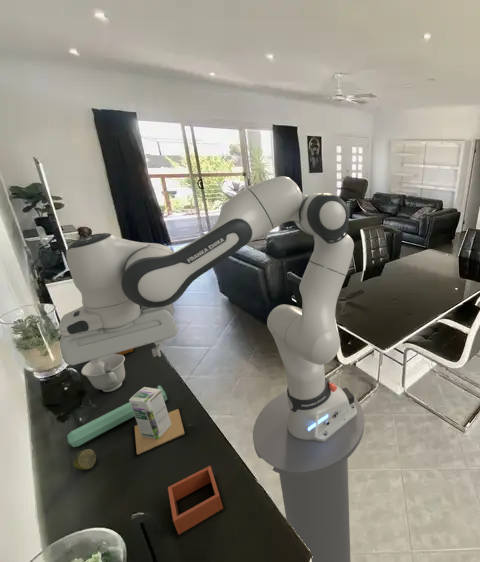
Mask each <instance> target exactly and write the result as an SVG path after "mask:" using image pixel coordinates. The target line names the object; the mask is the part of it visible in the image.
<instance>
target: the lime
mask: <svg viewBox="0 0 480 562" xmlns="http://www.w3.org/2000/svg"><path fill="white" fill-rule="evenodd" d="M72 461H73V462H72V463H73V464H72V465H73V467H74V468H75V469H78V470H81V471H85V470H90V469H92V468H93V467H94V465H95V464H96V461H97V454H96V452H95V451H94V450H93V449H92V448H88V449H82V450H81V451H79V452H78V453H77V454H76V455H75V456H74V458H73V460H72Z"/></svg>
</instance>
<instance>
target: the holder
mask: <svg viewBox="0 0 480 562" xmlns="http://www.w3.org/2000/svg"><path fill="white" fill-rule="evenodd" d="M209 484H211V486H212V490H213V493H214V495H213V496H210V497H209V498H206V499H205V500H204V501H202V502H200V503H198V504H196V505H194V506H193V507H191V508H189V509H187V510H185V511H184V512H181V513H180V511H179V507H178V501H179V500H180V499H183V498H185V497H187V496H188V495H190V494H192V493H194V492H197V491H198V490H200V489H201V488H204V487H205V486H207V485H209ZM167 491H168V497H169V505H170V510H171V511H170V512H171V516H172V522H173V524H174V527H175V530H176V532H177V535H178V536H179V535H181V534H183V533H184V532H186V531H188V530H190V529H192V528H193V527H195V526H197V525H199V524H200V523H202V522H203V521H205V520H206V519H208V518H210V517H212V516H213V515H215V514H216V513H219V512H220V511H222V510H224V506H223V502H222V499H221V495H220V492H219V490H218V486H217V483H216V479H215V475H214V472H213V469H212V466H211V465H208V466H206V467H205V468H203V469H201V470H199V471H197V472H194V473H193V474H191V475H188V476H187V477H184V478H183V479H181V480H179V481H177V482H175V483H173V484H172V485H169V486H167Z"/></svg>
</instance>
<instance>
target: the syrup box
mask: <svg viewBox="0 0 480 562" xmlns="http://www.w3.org/2000/svg"><path fill="white" fill-rule="evenodd" d="M128 401H129V402H130V404H131V407H132V410H133V412H134V415H135V416H134V418H135V420H136V424H137V425H138V426H139V429H140V432H141V435H142V437H147V438H154V439H159V438H160V437H161V436H162V435H163V434H164V433H165V432H166V430H167V429H168V428H169V427H170V426H171V425H172V424H171V421H170V418H169V414H168V413H169V412H168V408H167V404H166V401H165V402H164V398H163V395H162V392H161V389H156V388H155V387H147V386H143V387H142V388H141V389H139V390H138V391H136V393H134V394H133V396H131V397H130V398H129V400H128Z"/></svg>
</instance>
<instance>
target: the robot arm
mask: <svg viewBox="0 0 480 562" xmlns="http://www.w3.org/2000/svg"><path fill="white" fill-rule="evenodd" d="M218 215H219V216H218V218H217V221H216V222H215V224H214V225H213V227H212V228H211V229H210V230H209V231H208V232H205V234H203V235H201V236H199V237H198V238H197V239H195V240H193V241H191V242H189V243H188V244H186V245H184V246H182V247H181V248H179V249H178V250H176V251H173V250H172V249H171V248H170V247H169V246H167V245H165V244H162V243H157V242H140V241H135V240H129V239H126V238H122V237H119V236H116V235H115V234H112V233H110V232H103V233H102V232H101V233H94V234H90V235H86V236H84V237H81V238H79V239H76V240H74V241H73V242H72V243H71V244H70V245H69V246H68V248H67V249H66V251H65V256H66V262H67V266H68V270H69V273H70V275H71V276H70V277H71V279H72V281H73V284H74V286H75V288H76V289H77V290H78V291H79V292H80V294H81V303H82V304H81V305H82V306H80V307H78V308H76V309H73V310H72V311H69V312H67V313H65V314H64V315H62V317H61V319H60V321H59V323H58V324H59V325H58V329H59V333H60V335H61V336H60V339H59V348H60V353H61V356H62V359H63V362H64V363H65V364H67V365H69V366H77V365H79V364H83V363H86V362H87V363H88V362H91V364H92V365H94V366H96V367H98V368H101V371H102V373H103V374H105V373H108V372H111V366H110V363H109V362H106V363H104V362H102V361H100V360H99V358H101V357H104V356H108V355H111V354H115V353H118V352H122V351H125V350H129V349H132V348H133V349H136V348H139V347H142V346H146V345H149V344H152V343H155V345H156V346H155V347H154V348H151V353H152V356H153V359H156V358H160V357H162V354H161V350H162V347H163V345H164V342H163V341H165V340H167V339H171V338H174V337H176V336H177V335H178V333H179V328H178V326H177V323H176V320H175V317H174V316H173V315H174V314H175V308H174V304H173V303H175V302H177V301H178V300H179V299H180V298H181V297H182V296H183V295H184V294H185V292H186V291H187V289H188V287H189V286H190V285H191V284H192V283H193V282H195V281H196V280H197V279H198V278H200V277H201V276H202V275H204V274H205V273H207V272H209V271H210V270H212V269H213V268H214V267H216V266H217V265H219V264H220V263H222V262H224V261H225V260H226V259H228V258H229V257H231V256H232V255H234V254H236V253H237V252H238V251H240V250H241V249H242V248H243V247H246V246H247V245H249V244H250V243H252V242H253V241H255V240H257V239H259V238H260V237H262V236H264V235H266V234H267V233H269V232H271V231H273V230H274V229H276V228H277V227H279V226H281V225H282V224H285V223H288V222H290V223H291V224H292V225H293V227H295V228H296V229H297V230H298V231H300V232H301V233H304V234H307V235H310V236H313V240H314V247H313V252H312V254H311V255H310V257H309V261H308V263H307V265H306V269H305V270H304V273H303V274H302V278H301V281H300V283H299V287H298V289H299V293H300V295H301V303H302V306H301V308H300V307H298V306H295V305H291V304H285V303H284V304H280V305H277V306H276V307H274V308H273V309H272V310H271V311H270V312H269V314H268V316H267V319H266V320H267V321H266V326H267V329H268V330H269V332H270V334H271V336H272V337H273V340H274V342H275V345H276V347H277V350H278V353H279V356H280V359H281V362H282V364H283V366H284V370H285V376H286V382H287V388H286V391H287V396H288V397H287V399H288V405H289V407H290V408H289V418H288V421H287V428H288V431H289V432H290V434H291V435H293V436H294V437H296V438H298V439H303V440H316V441H319V442H324V441H325V440H327V439H328V438H329V437H330V436H332V435H333V434H334V433H335V432H336V431H338V430H339V429H340V428H341V427H343V426H344V425H345V424H346V423H347V422H349V421H350V420H351V419H352V418H354V417H355V416H356V415H357V410H356V406H355V404H354V397H355V396H354V393H352V391H351V390H349V389H348V388H347V387H343V388H342V387H340V386H338V385H336V383H333V382H332V383H331V380H330V378H327V377H326V374H325V365H326V364H328V363H330V362H331V361H333V359H334V358H336V356H337V355H338V353H339V350H340V346H341V337H340V335H339V332H338V329H337V325H336V310H337V309H336V308H337V303H338V299H339V296H340V293H341V290H342V287H343V284H344V282H345V280H346V277H347V274H348V271H349V269H350V266H351V263H352V259H353V255H354V249H355V243H354V240H353V238H352V237H351V236H350V235H349V234H348V233H349V230H350V229H349V223H350V213H349V208H348V206H347V204H346V202H345V201H344V200H343V199H342V198H341V197H339V196H337V195H335V194H333V193H329V192H324V193H323V192H322V193H320V192H319V193H318V192H317V193H311V194H304V193H303V191H301V189H300V186H298V184H297V183H296V182H295V181H294V180H293V179H291V178H290V177H288V176H284V175H283V176H276V177H272V178H269V179H266V180H263V181H260V182H258V183H256V184H253V185H251V186H249V187H247V188H245V189H243V190H241V191H239V192H238V193H236V194H235V195H233V196H232V197H230V198H229V199H228V200H227V201H225V203H223V205H222V206H221V208H220V212H219V214H218ZM341 388H342V389H341Z"/></svg>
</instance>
